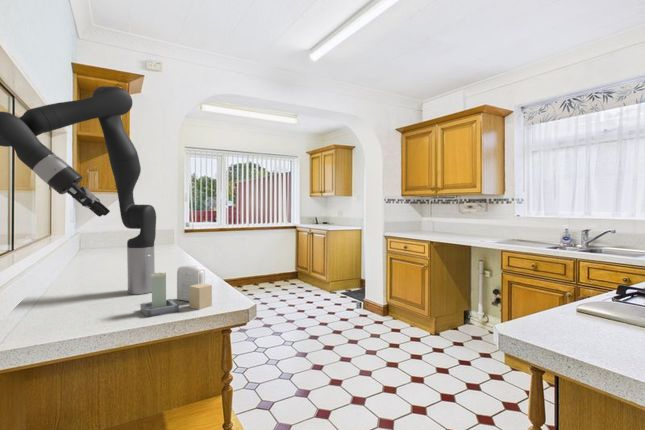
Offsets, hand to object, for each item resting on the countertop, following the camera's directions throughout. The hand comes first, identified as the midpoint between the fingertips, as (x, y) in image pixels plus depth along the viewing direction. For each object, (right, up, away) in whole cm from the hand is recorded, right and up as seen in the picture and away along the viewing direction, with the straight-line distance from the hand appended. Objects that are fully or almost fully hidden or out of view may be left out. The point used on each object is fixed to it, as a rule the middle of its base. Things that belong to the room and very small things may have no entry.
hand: (105, 214), depth 107 cm
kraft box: (+25, -30, +11) cm, 41 cm away
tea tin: (+13, -30, +6) cm, 33 cm away
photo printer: (+19, -30, +19) cm, 40 cm away
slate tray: (+13, -31, +6) cm, 34 cm away
